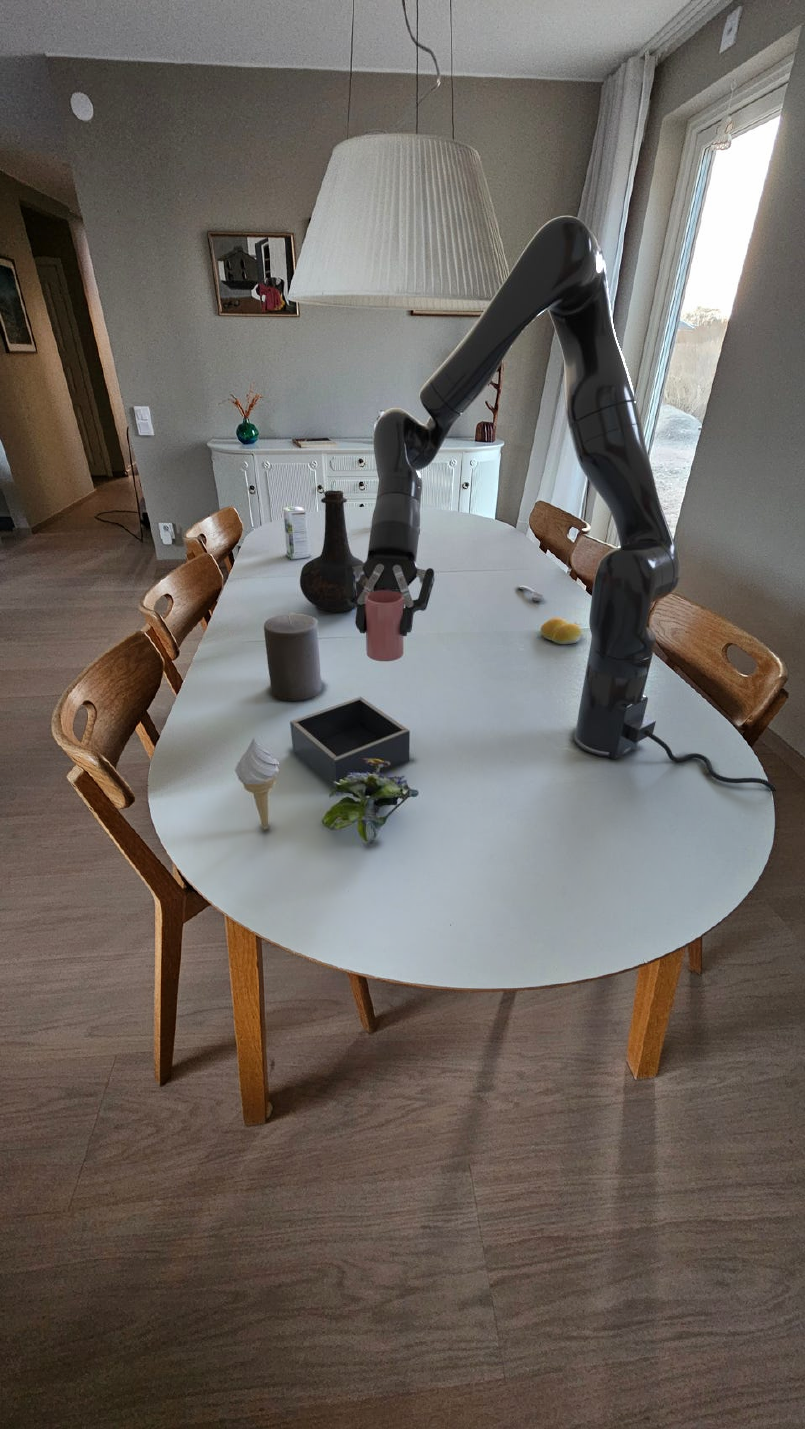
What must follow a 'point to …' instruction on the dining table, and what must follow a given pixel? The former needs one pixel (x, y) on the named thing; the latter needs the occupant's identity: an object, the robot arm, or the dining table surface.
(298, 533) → the syrup box
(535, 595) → the spoon
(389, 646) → the cup
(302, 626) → the pillar candle
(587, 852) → the dining table surface
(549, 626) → the bread roll
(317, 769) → the dark grey open box
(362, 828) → the passion flower
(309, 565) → the glass bottle
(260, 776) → the ice cream cone
